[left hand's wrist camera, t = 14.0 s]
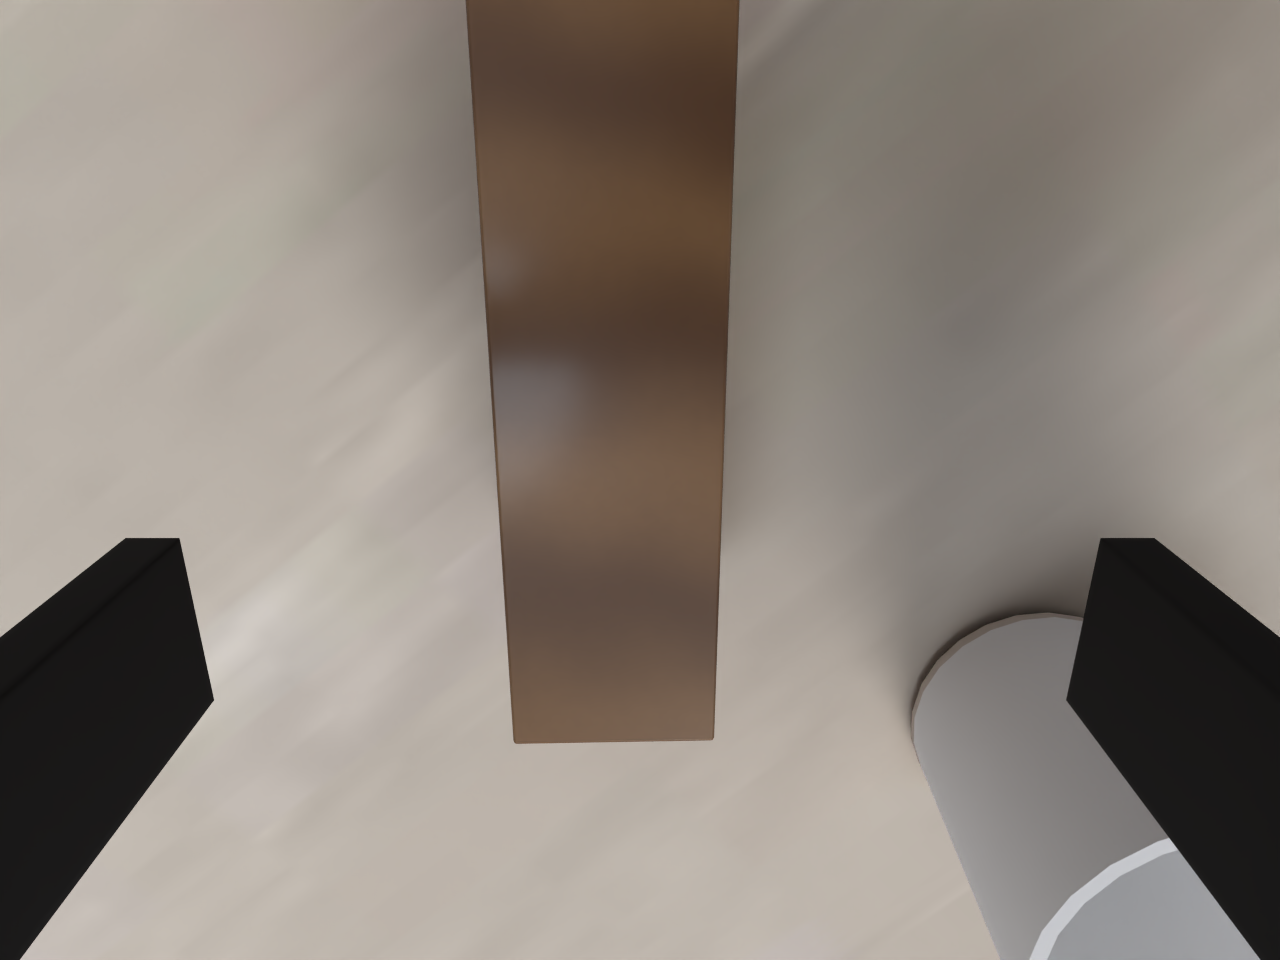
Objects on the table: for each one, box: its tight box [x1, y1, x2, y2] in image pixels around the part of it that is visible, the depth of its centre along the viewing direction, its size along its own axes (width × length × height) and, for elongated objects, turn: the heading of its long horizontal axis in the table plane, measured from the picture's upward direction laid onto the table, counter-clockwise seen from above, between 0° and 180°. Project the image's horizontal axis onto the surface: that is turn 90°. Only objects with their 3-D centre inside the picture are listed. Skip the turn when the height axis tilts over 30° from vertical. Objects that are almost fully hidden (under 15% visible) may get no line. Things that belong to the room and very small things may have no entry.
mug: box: [911, 613, 1260, 960], centre depth 26 cm, size 11×9×10 cm
